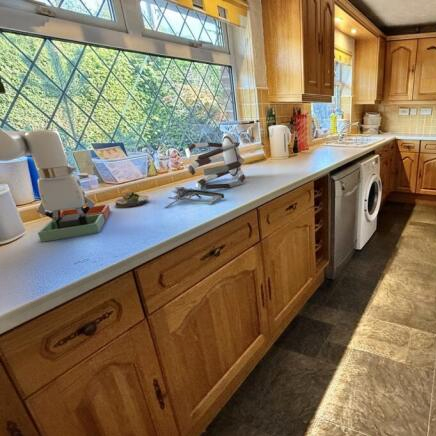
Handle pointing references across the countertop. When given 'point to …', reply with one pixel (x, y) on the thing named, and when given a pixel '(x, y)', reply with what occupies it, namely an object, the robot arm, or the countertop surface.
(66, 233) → the near bin
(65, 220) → the packet
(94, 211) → the far bin
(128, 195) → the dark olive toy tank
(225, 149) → the jointed toy figure
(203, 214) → the countertop surface
